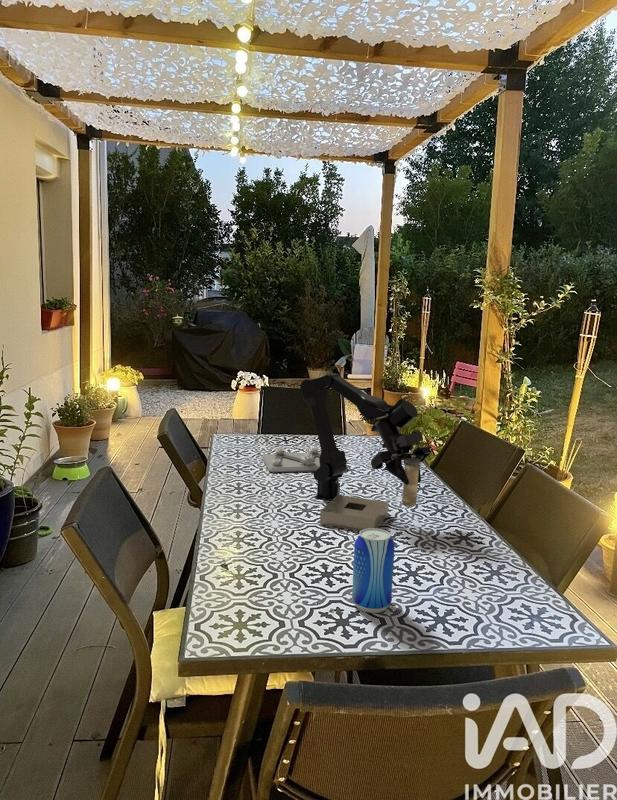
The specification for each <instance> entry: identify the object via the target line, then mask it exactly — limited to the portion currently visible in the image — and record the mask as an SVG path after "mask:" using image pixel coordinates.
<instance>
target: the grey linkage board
mask: <svg viewBox="0 0 617 800" xmlns="http://www.w3.org/2000/svg"><path fill="white" fill-rule="evenodd" d="M285 449H286V448H284V447H282V446H276V449H275V450H274V453H264V454H262V456H261V458H262V460H263V462H264V464H265V466H266V467H267V469H268V471H269V472H270V473H271V472H272V474H278V473H279V472H285V473H308V472H310V473H312V472H313V473H314V472H315V471H316V470H317V469H318V468H319V467H320V462H319V459H320V454H321V450H319V447H316V446H315V445H314V446H311V448H310V449H309V452H297V453H296V452H294V453H293V452H292V453H290V452H288V453H287V452H286V450H285ZM348 469H349V466H347V468H346V470H345V472H346V471H347V470H348ZM277 472H278V473H277ZM279 474H280V473H279Z"/></svg>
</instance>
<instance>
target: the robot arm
mask: <svg viewBox="0 0 617 800" xmlns="http://www.w3.org/2000/svg"><path fill="white" fill-rule="evenodd" d="M299 390H300V393H301V396H302V397H303V401H305V403H306V404H307V405H308V406H309V408H310V411H311V415H312V418H313V422H314V423H313V424H314V425H315V426H314V427H315V429H316V430H315V431H316V433H317V434H316V435H317V439H318V442H319V446H320V447H319V448H320V452H321V454H320V459H319V462H320V467H319V468H318V469H317V470H316V471H315V472H313V474H312V475H313V479H314V480H316V481H317V483H316V485H317V487H316V490H317V491H316V495H315V496H314V498H316V499H319V500H326V501H332V500H333V499H334V498H335V497H336V496H337V495H341V493H340V491H341V483H340V482H339V481H340V478H342V477H343V474H345V472H346V471H347V470H346V468H347V467H348V464H347V463H348V460H347V456H346V452H345V450H340V449H339V448H338V447H337V445H336V441H335V436H334V432H333V430H332V424H331V421H330V417H329V412H328V409H327V405H326V402H327V398H328V390H332V391H335V392H336V393H337V394H339V395H340V396H342V397H343V398H344V399H346V400H347V401H349V402H350V403H352V405H355V407H356V408H357V410H358V412H359V413H360V414H361V415H362V416H363V418H364V419H366V420H368V421H375V420H378V421H377V422H373V424H372V426H371V428H370V431H371V432H375V433H379V436H380V438H381V440H382V442H383V444H382V445H381V447H382V448H383V449H386V450H384V451H378V452H376V454H375V455H374V456H373V457H372V458H371V460H370V465H371V468H372V469H373V470H374V471H375V470H380V469H382V467H383V465H384V464H385V467H384V471H387V472H389V473H390V474H391V475H392V476H394V477H396V478H397V479H398V480H399V481H401V482H402V483H405V484H406V485H408V484H409V481H408V478H407V476H406V473H405V471H404V466H403V465H402V464H403V461H404V459H405V458H416V459H419V460H420V465H419V474H418V484H420V483H421V481H422V477H421V468H420V467H421V463H423V462H424V461H426V460H427V458H429V457H430V455H432V454H433V452H432V449H431V448H430V446H429V445H421V442H423V441H424V436H423V433H422V432H421V431H420V430H414V431H411V433H407V434H405V433H401V431H400V429H399V428H405V427H406V426H407V425H408V424H410V423H411V422H412V421H414V419H415V418H417V417H418V414H419V413H418V409H417V407H416V406H415V405H413V404H412V403H411V402H410V401H407V400H406V398H405V397H404V398H399V399H398V400H397V401H396V403H395V404H393V405H390V404H388V402H387V401H386V400H385V399H383V398H380V397H379V396H375V395H372V394H371V395H370V394H368V393H365V392H364V391H362V390H361V389H359V388H358V387H356V386H355V385H354V384H352V383H351V382H350V381H348V380H346V379H345V378H343V377H342V376H341V375H340V374H338V373H336V372H335V373H328V374H326V375H323V376H320V377H316V378H307V379H304V380H302V382H301V384H300V386H299ZM416 445H421V446H417V447H415V449H413V448H414V446H416ZM412 449H413V451H411V450H412ZM345 470H346V471H345Z"/></svg>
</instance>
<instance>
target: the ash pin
mask: <svg viewBox="0 0 617 800" xmlns="http://www.w3.org/2000/svg"><path fill="white" fill-rule="evenodd" d="M403 464H404V467H403V469H404V471H405V473H406V476H407V478H408V481H409V484H408V485H406V484H405V483H403V482H402V483H403V484H402V485H403V487H402V498H401V499H402V502H401V503H402V505H403V506H405V507H416V506H417V502H418V501H417V498H418V487H419V483H418V474H419V465H420V466H421V463H420V460H419V459H416V458H405V459H404V460H403Z"/></svg>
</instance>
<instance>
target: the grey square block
mask: <svg viewBox="0 0 617 800" xmlns="http://www.w3.org/2000/svg"><path fill="white" fill-rule="evenodd" d="M388 515H389V502H388V501H383V500H375V499H370V498H362V497H356V496H350V495H349V496H348V495H341V494H340V495H337V496H336V497H335V498H334V499H333V500H330V502H329V503H327V504H326V505H325V506H324V507H323V508H322V509H321V510H320V514H319V517H320V518H319V524H320V525H323V526H329V527H335V528H342V529H348V530H353V531H358V532H360V531H361V530H363V529H368V528H377V529H379V528H380V526H381V525H382V524H383V522H384V521H385V519H386V518H387V516H388Z"/></svg>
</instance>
